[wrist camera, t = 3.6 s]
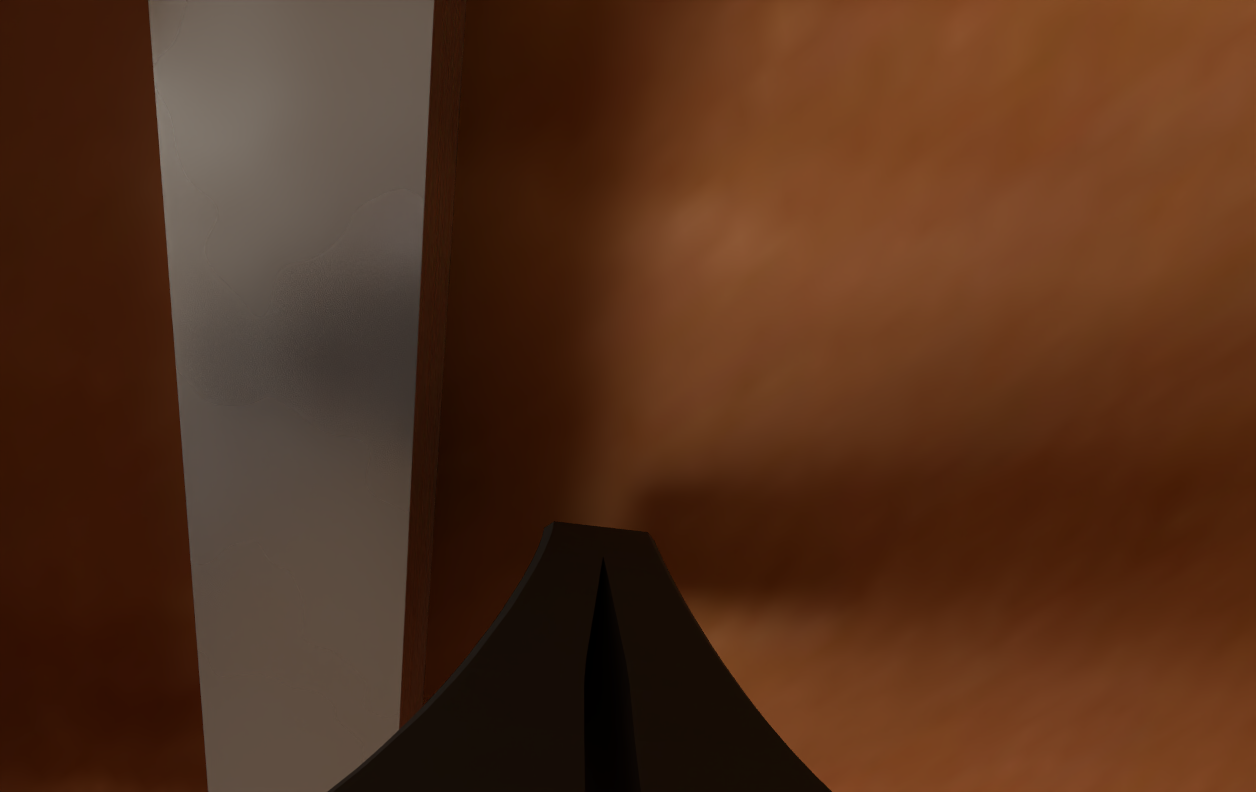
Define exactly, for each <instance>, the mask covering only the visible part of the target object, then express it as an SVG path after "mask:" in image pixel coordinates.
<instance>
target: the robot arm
mask: <svg viewBox="0 0 1256 792" xmlns="http://www.w3.org/2000/svg"><path fill="white" fill-rule="evenodd" d="M327 792H832V791H831V790H830V789H829V788H828V787H827V786H826V785H825V784H824V783H822V782H821V781H820V780H819V779H818V778H817V777H816V776H815V775H814V774H813V773H812V772H811V771H810V770H809V768H808V767H807V766H806V765H805V764H804V763H803V762H802V761H801V760H800V759H799V758H798V757H797V756H796V755H795V754H794V753H793V751H792V750H791V749H790V748H789V747H788V746H787V745H786V743H785V742H784V741H783V740H782V739H781V738H780V736H779V735H778V734H777V733H776V732H775V731H774V729H773V728H772V727H771V726H770V725H769V724H768V722H767V721H766V720H765V719H764V717H763V716H762V715H761V714H760V712H759V711H758V710H757V709H756V707H755V706H754V705H753V703H752V702H751V701H750V699H749V698H748V697H747V695H746V694H745V693H744V691H743V690H742V689H741V687H740V686H739V684H738V683H737V682H736V680H735V679H734V677H733V676H732V675H731V673H730V672H729V670H728V669H727V668H726V666H725V665H724V663H723V662H722V660H721V659H720V657H719V656H718V654H717V653H716V651H715V650H714V648H713V647H712V645H711V644H710V642H709V640H708V639H707V637H706V636H705V634H704V632H703V631H702V629H701V627H700V626H699V624H698V623H697V621H696V619H695V618H694V616H693V614H692V613H691V611H690V609H689V608H688V606H687V604H686V602H685V601H684V599H683V597H682V595H681V594H680V592H679V590H678V588H677V586H676V584H675V582H674V581H673V579H672V577H671V575H670V573H669V571H668V569H667V567H666V565H665V563H664V561H663V559H662V557H661V555H660V553H659V550H658V548H657V546H656V544H655V541H654V540H653V539H652V537H651V536H650V535H649V533H648V532H641V531H632V530H624V529H615V528H606V527H598V526H589V525H580V524H572V523H563V522H555V521H554V522H553V523H551V524H550V525H548V526H547V527H545V528H544V531H543V536H542V539H541V542H540V544H539V547H538V549H537V551H536V553H535V556H534V558H533V560H532V562H531V563H530V565H529V567H528V569H527V571H526V572H525V574H524V576H523V578H522V580H521V581H520V583H519V584H518V586H517V588H516V589H515V591H514V592H513V594H512V595H511V597H510V598H509V600H508V602H507V603H506V605H505V606H504V608H503V609H502V611H501V612H500V614H499V615H498V617H497V618H496V620H495V621H494V622H493V624H492V625H491V626H490V628H489V629H488V630H487V632H486V633H485V634H484V635H483V637H482V638H481V639H480V641H479V642H478V643H477V645H476V646H475V647H474V648H473V650H472V651H471V652H470V654H469V655H468V656H467V658H466V659H465V660H464V661H463V662H462V664H461V665H460V666H459V667H458V668H457V670H456V671H455V672H454V673H453V674H452V675H451V677H450V678H449V679H448V680H447V681H446V682H445V683H444V684H443V686H442V687H441V688H440V689H439V690H438V691H437V692H436V693H435V694H434V695H433V696H432V697H431V698H430V699H429V701H428V702H427V703H426V704H425V705H424V706H423V707H422V708H421V709H420V710H419V711H418V712H417V713H416V714H415V715H414V716H413V717H412V718H411V719H410V720H409V721H408V722H407V723H406V724H405V725H403V726H402V727H401V728H400V729H399V730H398V731H397V732H396V733H395V734H394V735H393V736H392V737H391V738H390V739H389V740H388V741H387V742H386V743H385V744H384V745H383V746H381V747H380V748H379V749H378V750H377V751H376V752H375V753H374V754H372V755H371V756H370V757H369V758H368V759H367V760H366V761H365V762H363V763H362V764H361V765H360V766H359V767H358V768H356V769H355V770H354V771H353V772H352V773H350V774H349V775H348V776H346V777H345V778H344V779H343V780H341V781H340V782H339V783H338V784H336V785H335V786H334V787H332V788H331V789H330V790H329V791H327Z"/></svg>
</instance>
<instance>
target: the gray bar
mask: <svg viewBox="0 0 1256 792" xmlns="http://www.w3.org/2000/svg"><path fill="white" fill-rule="evenodd" d="M148 5H149V18H150V32H151V45H152V58H153V71H154V84H155V97H156V111H157V124H158V137H159V150H160V163H161V176H162V190H163V203H164V216H165V229H166V242H167V255H168V269H169V282H170V295H171V308H172V321H173V334H174V348H175V361H176V374H177V387H178V400H179V413H180V427H181V440H182V453H183V466H184V479H185V492H186V506H187V519H188V532H189V545H190V558H191V571H192V585H193V598H194V611H195V624H196V637H197V650H198V664H199V677H200V690H201V703H202V716H203V730H204V743H205V756H206V769H207V782H208V792H327V791H329V790H330V789H331V788H332V787H334V786H335V785H336V784H338V783H339V782H340V781H341V780H343V779H344V778H345V777H346V776H348V775H349V774H350V773H352V772H353V771H354V770H355V769H356V768H358V767H359V766H360V765H361V764H362V763H363V762H365V761H366V760H367V759H368V758H369V757H370V756H371V755H372V754H374V753H375V752H376V751H377V750H378V749H379V748H380V747H381V746H383V745H384V744H385V743H386V742H387V741H388V740H389V739H390V738H391V737H392V736H393V735H394V734H395V733H396V732H397V731H398V730H399V729H400V728H401V727H402V726H403V725H405V724H406V723H407V722H408V721H409V720H410V719H411V718H412V717H413V716H414V715H415V714H416V713H417V712H418V711H419V710H420V709H421V708H422V707H423V694H424V678H425V662H426V646H427V629H428V613H429V597H430V581H431V565H432V549H433V533H434V516H435V500H436V484H437V468H438V452H439V436H440V420H441V403H442V387H443V371H444V355H445V339H446V323H447V307H448V290H449V274H450V258H451V242H452V226H453V210H454V194H455V177H456V161H457V145H458V129H459V113H460V97H461V81H462V64H463V48H464V32H465V16H466V0H148Z"/></svg>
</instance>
